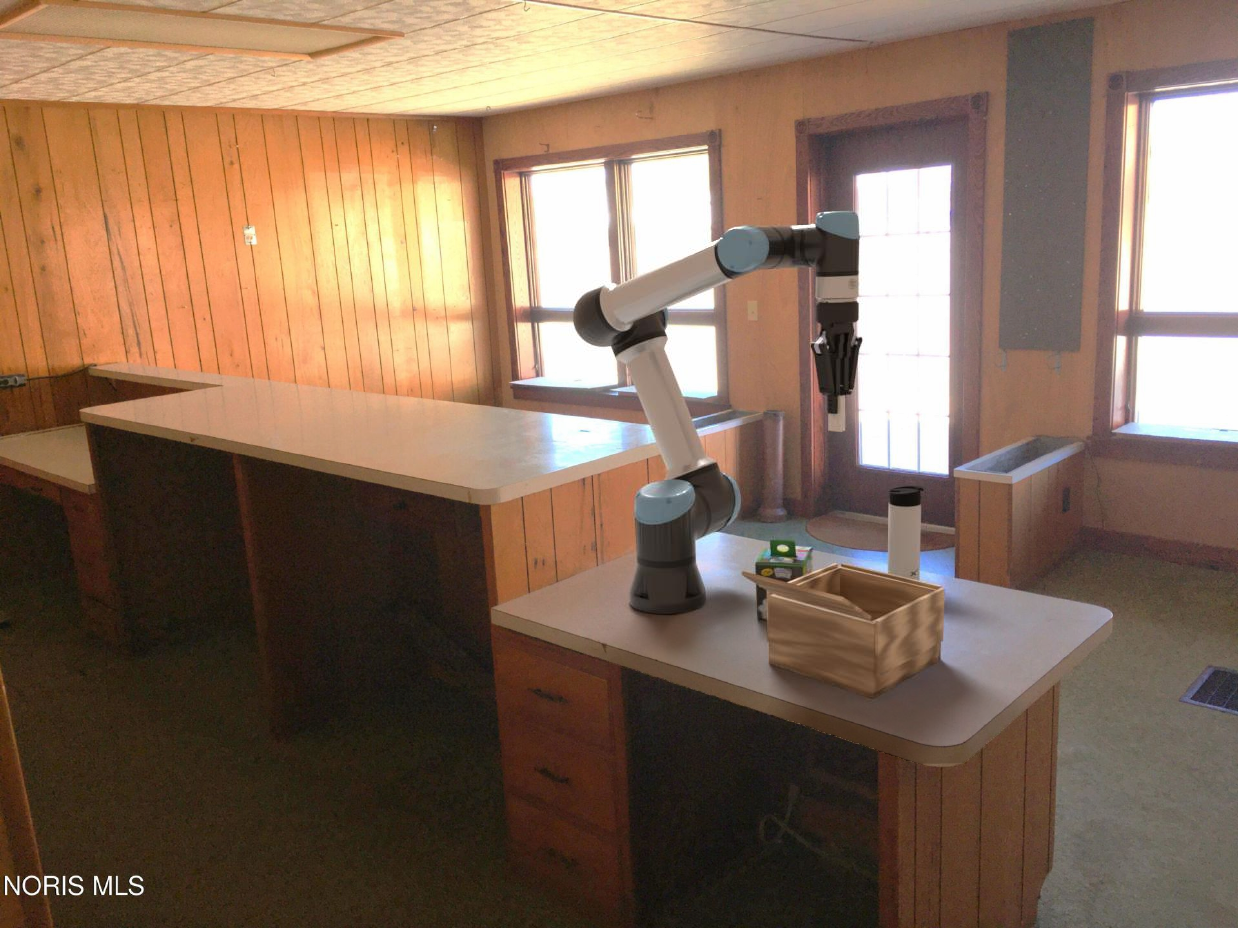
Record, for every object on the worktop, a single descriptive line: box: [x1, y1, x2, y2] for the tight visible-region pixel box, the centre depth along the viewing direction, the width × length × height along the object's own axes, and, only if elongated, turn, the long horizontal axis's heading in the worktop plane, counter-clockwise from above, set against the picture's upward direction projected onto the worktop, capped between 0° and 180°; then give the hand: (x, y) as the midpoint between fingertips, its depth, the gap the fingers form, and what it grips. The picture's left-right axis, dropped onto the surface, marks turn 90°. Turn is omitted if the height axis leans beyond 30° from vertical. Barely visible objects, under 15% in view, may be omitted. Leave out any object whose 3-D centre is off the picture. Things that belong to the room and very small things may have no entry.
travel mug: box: [887, 485, 924, 580], centre depth 201 cm, size 6×7×20 cm
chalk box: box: [754, 539, 811, 621], centre depth 187 cm, size 9×9×15 cm
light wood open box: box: [766, 562, 946, 699], centre depth 164 cm, size 21×21×12 cm
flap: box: [740, 570, 872, 620], centre depth 153 cm, size 1×19×9 cm
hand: (836, 430), depth 183 cm, fingers closed
